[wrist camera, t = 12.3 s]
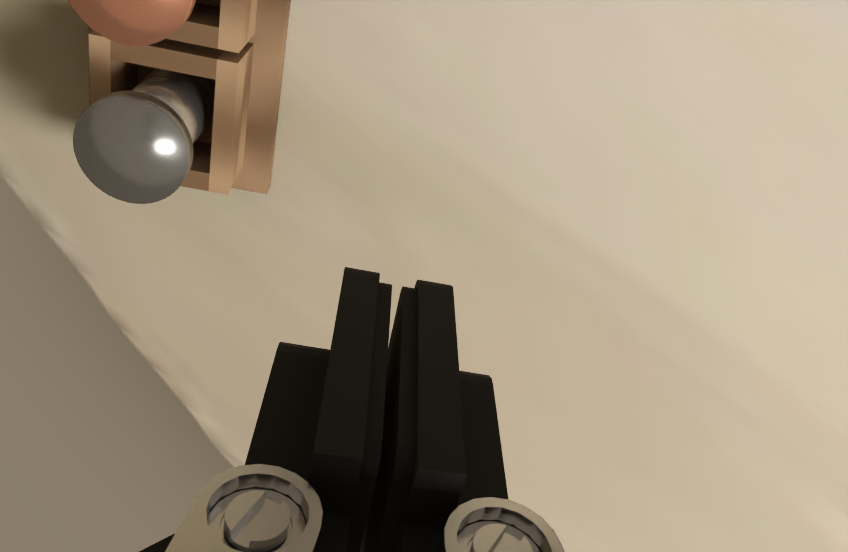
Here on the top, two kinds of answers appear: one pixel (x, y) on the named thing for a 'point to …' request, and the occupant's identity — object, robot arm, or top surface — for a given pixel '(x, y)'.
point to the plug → (144, 136)
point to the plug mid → (134, 18)
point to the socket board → (215, 84)
